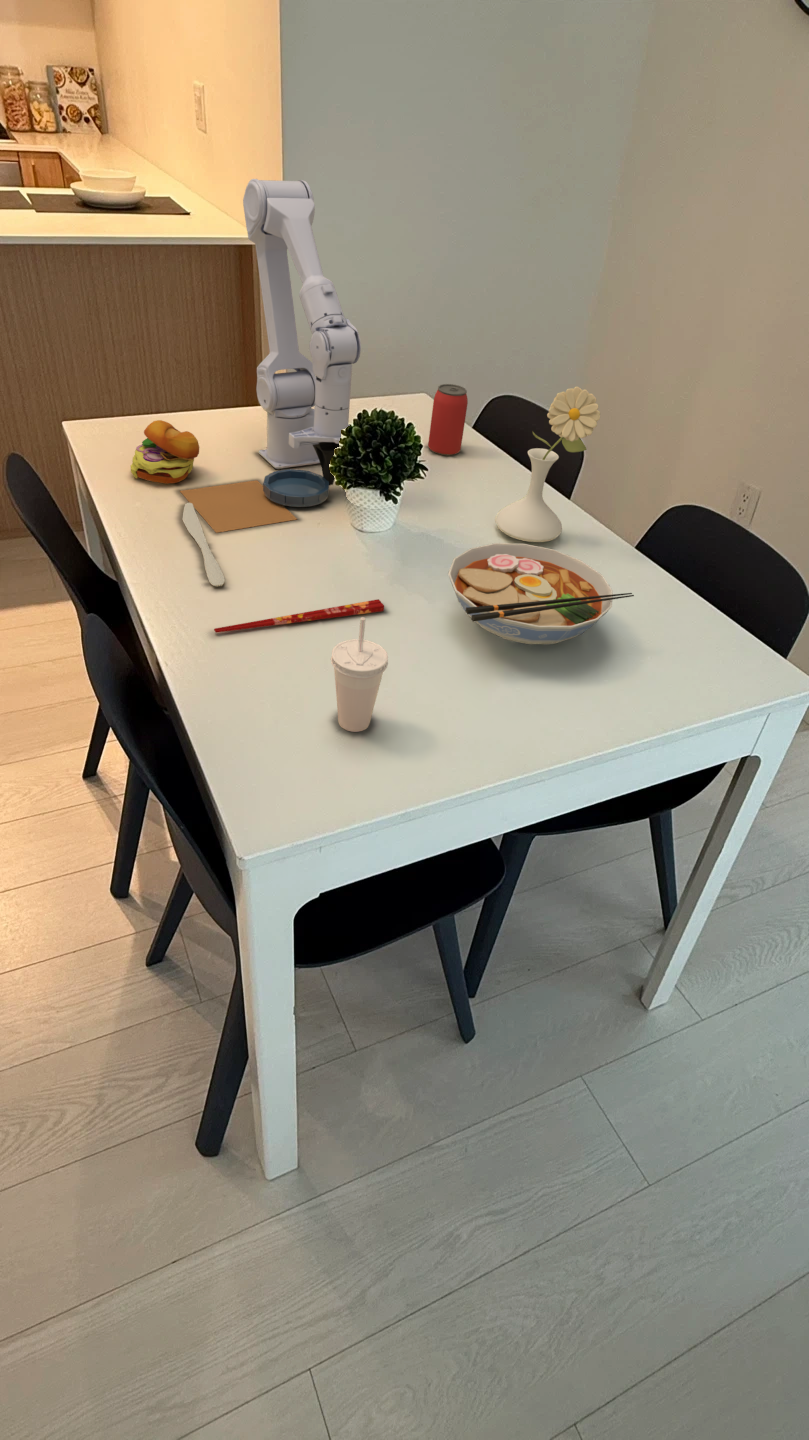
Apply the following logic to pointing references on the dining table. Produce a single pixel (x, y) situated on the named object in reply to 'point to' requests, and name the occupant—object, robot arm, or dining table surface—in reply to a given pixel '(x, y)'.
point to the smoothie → (357, 679)
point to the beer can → (448, 419)
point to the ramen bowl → (529, 592)
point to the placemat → (236, 506)
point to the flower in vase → (531, 514)
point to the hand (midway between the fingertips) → (328, 482)
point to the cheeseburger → (165, 454)
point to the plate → (296, 488)
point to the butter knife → (202, 545)
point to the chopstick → (312, 615)
